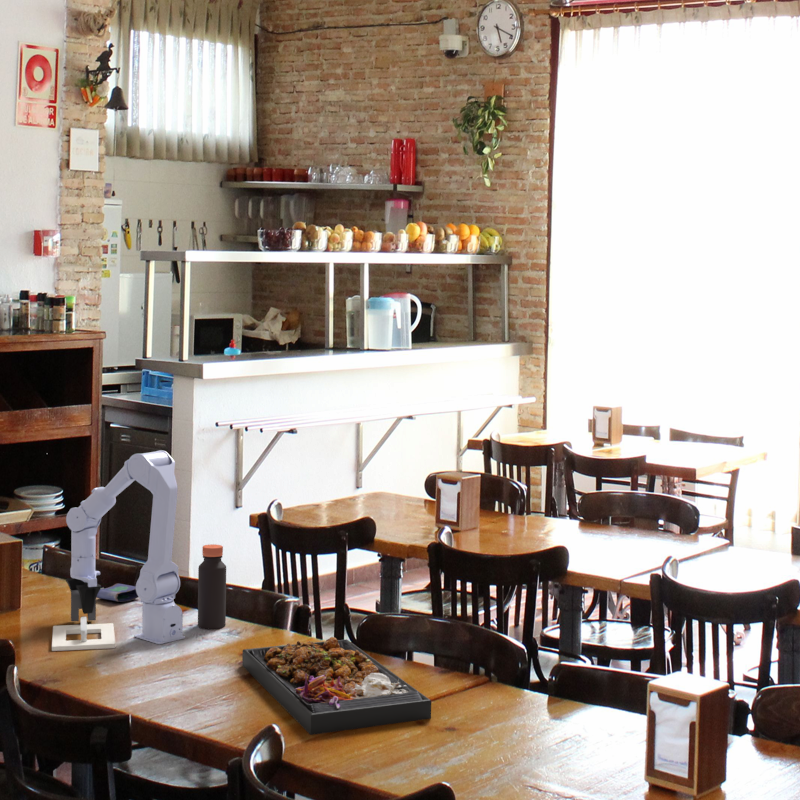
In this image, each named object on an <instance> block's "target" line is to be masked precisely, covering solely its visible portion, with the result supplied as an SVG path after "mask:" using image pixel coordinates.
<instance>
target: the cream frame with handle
mask: <svg viewBox="0 0 800 800" xmlns="http://www.w3.org/2000/svg"><path fill="white" fill-rule="evenodd" d="M87 621H88V616H81V617H80V624H67V625H66V624H65V625H53V626H52V639H51V651H52V652H56V651H57V652H60V651H62V652H63V651H79V650H100V649H102V650H105V649H116V646H117V645H116V636H115V635H116V634H115V628H114V623H113V622H112V623H111V622H110V623H89V624H88V622H87ZM88 634H100V638H94V639H93V638H92V639H88V638H87V637H88ZM67 635H80V639H73V640H71V639H70V640H67Z"/></svg>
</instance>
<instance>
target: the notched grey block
mask: <svg viewBox="0 0 800 800" xmlns="http://www.w3.org/2000/svg"><path fill="white" fill-rule="evenodd" d="M96 601H97V599H96V600H95V604H94V608H93V612H92V613H88V614H87V621H89V622H90V621H97V619H96V617H97V615H96V614H97V611H96V610H97V609H96V607H97V606H96V605H97V602H96ZM80 609H81V610H82V604H81V598H80V594H79V591H78V590H71V591H70V621H71V622H79V621H80V611H79V610H80Z"/></svg>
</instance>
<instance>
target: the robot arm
mask: <svg viewBox="0 0 800 800" xmlns="http://www.w3.org/2000/svg"><path fill="white" fill-rule="evenodd" d="M175 468H176V461H175V460H174V459H173V457H172V456H171V455H170V454H169V453H168V452H167V451H166V450H162V449H160V450H156V451H151V452H143V453H134V454H132V455H131V456H130V457H129V459H127V460H125V461H124V465H123V466H122V468H121V469H120V470H119V471H118V472H117V473H116V474H115V475H114V476H113V477H112V479H111V480H110V481H109V482H108V483H107V485H106V486H105V487H104V486H99V487H95V488H93V489H92V490H91V493H90V495H89V496H88V497H87V498H86V499H85V500H82V501H81V502H80V505H79V506H78V507H71V508H70V509H69V511H68V512H67V513H66V518H65V521H66V522H65V523H66V524H67V527H68V528H69V530H70V531H71V534H70V535H71V537H70V538H71V539H70V541H71V543H70V545H71V552H70V553H71V558H70V559H71V561H70V562H71V565H70V569H69V571H70V572H69V573H70V578H66V579H65V582H66V583H67V586H68V588H69V590H70V592H71V590H78V591H79V594H80V598H81V604H82V609H81V610H82V614H84V615H86V614H87V615H88V613H92V612H93V608H94V604H95V600H96V601H97V598H96V597H97V594H98V592H99V591H100V589H102V585H101V584H99V583H98V578H97V576H100V575H101V571H99V570H96V548H97V547H96V543H97V542H96V541H97V540H96V535H97V534H98V528H99V526H100V524H101V522H102V517H103V516H105V515H106V514H107V513H108V511H110V510H111V509H112V508H113V507H114V506H115V505H116V502H117V499H116V497H118V496H119V494H121V493H122V492H123V491H125V490H126V488H128V487H129V486H131V484H132V483H133V482H135V481H136V482H137V483H138V484H140V485H141V486H143V487H144V488H145V489H147V490H148V491H150V492H151V494H152V505H151V506H152V507H151V520H150V530H149V532H150V533H149V541H148V542H149V543H148V553H147V555H148V556H147V560H146V561H145V563H144V564H143V565H142V567H141V569H140V570H139V571H140V572H139V577H138V579H137V581H136V584H135V587H136V593H137V595H138V598H139V600H140V602H141V603H142V608H141V609H142V611H141V612H142V615H141V616H142V617H141V618H142V623H141V626H142V627H141V631H142V632H140V633H136V634H134V638H137V639H141V640H143V641H147V642H150V643H152V644H156V645H162V644H167V643H171V642H175V641H179V640H183V639H185V638H186V636H185V635H183V627H184V626H183V625H184V624H183V620H184V619H183V618H184V617H183V616H184V615H183V614H184V613H183V610H182V608H181V607H180V606H179V605H177V604H176V603H175V601H174V599H176V594H177V593H178V592H179V590H180V587H181V579H180V576H179V565H177V564H176V563H175V562H173V549H174V548H173V546H174V537H175V536H174V535H175V526H176V525H175V524H176V516H177V515H176V513H177V503H178V502H177V501H178V489H179V488H178V483H177V478H176V474H175V470H176V469H175Z"/></svg>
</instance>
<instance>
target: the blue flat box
mask: <svg viewBox="0 0 800 800" xmlns="http://www.w3.org/2000/svg"><path fill="white" fill-rule="evenodd" d="M97 598H98V599H102V600H107V601H113V602H118V603H119V602H120V603H121V602H130V601H133V600H134V601H135V600H137V599H138V598H139V597H138V595H137V593H136V585H129V584H124V583H114V584H113V585H111V586H109V587H106V588H104V586H103V587H101V589H100V591H99V592H98V594H97V597H96V599H97Z"/></svg>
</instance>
